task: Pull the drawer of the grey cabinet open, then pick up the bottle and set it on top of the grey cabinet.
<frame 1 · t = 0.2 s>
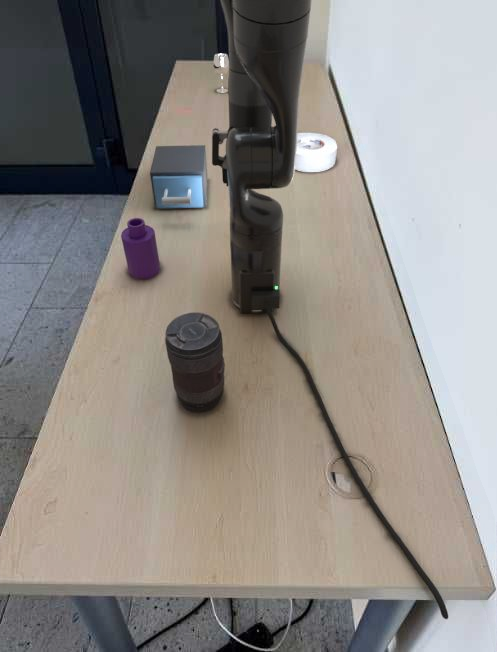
hand: (250, 184, 94), 17 cm above the table, tool pointing down, fingers open, 8 cm apart
wineglass: (222, 91, 181), on the table
grey cabinet: (182, 193, 126), on the table
drawer: (179, 185, 119), point 5 cm above the table, slide at 0.0 cm
bottle: (144, 269, 102), on the table
tape roll: (308, 160, 140), on the table
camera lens: (200, 396, 78), on the table
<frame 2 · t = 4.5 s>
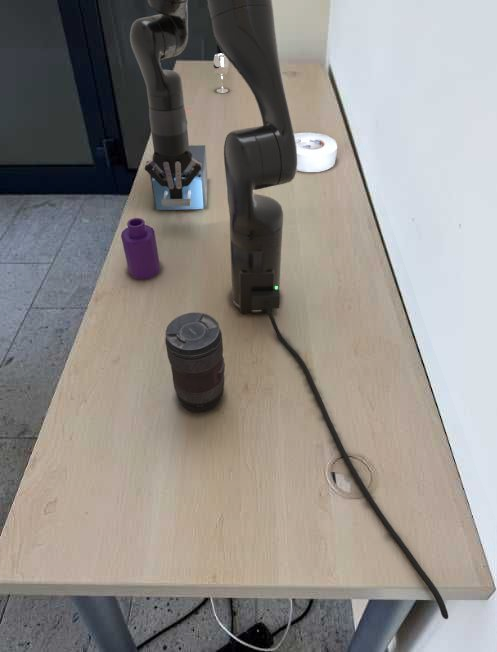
hand: (177, 201, 113), 5 cm above the table, tool pointing down, fingers closed
drawer: (179, 187, 118), point 5 cm above the table, slide at 0.9 cm
everything else where it was.
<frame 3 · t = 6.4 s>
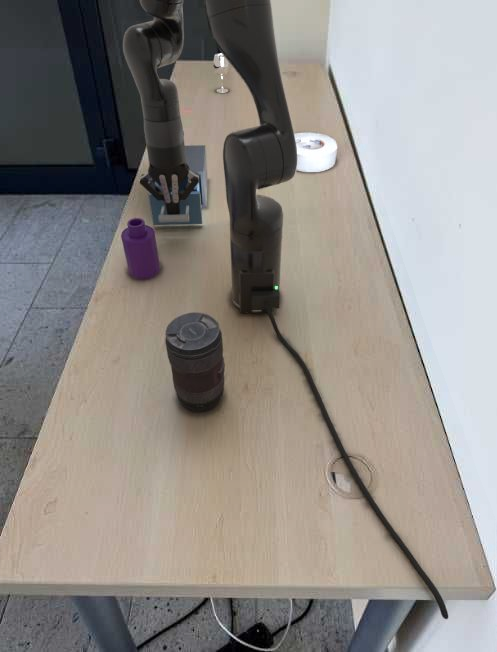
hand: (174, 215, 108), 5 cm above the table, tool pointing down, fingers closed
drawer: (177, 201, 113), point 5 cm above the table, slide at 7.6 cm
everything else where it was.
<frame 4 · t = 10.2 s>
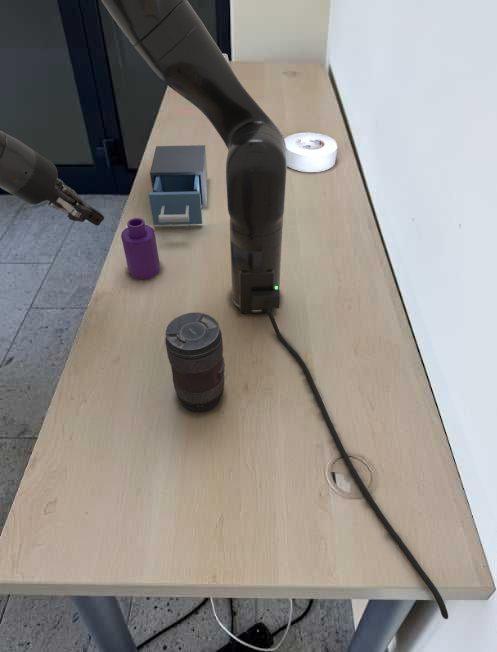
hand: (99, 219, 89), 15 cm above the table, tool tilted 40°, fingers closed
nothing on the table moved.
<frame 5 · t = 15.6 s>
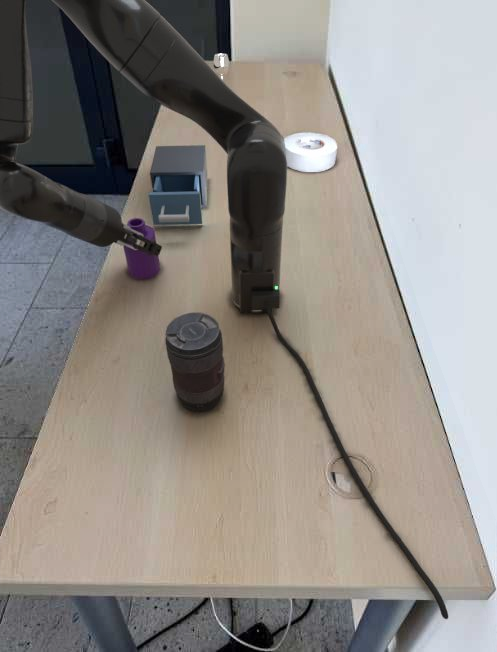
hand: (146, 244, 100), 5 cm above the table, tool tilted 45°, fingers closed on bottle, 6 cm apart
bottle: (144, 269, 102), on the table, touching gripper
everything else where it was.
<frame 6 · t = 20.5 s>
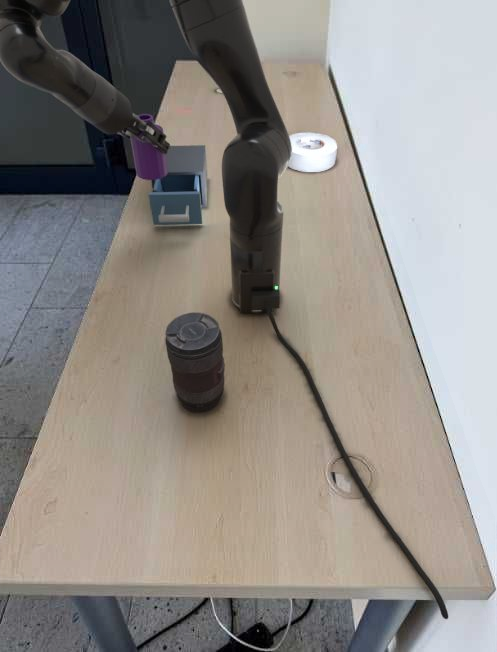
hand: (154, 145, 99), 20 cm above the table, tool tilted 45°, fingers closed on bottle, 6 cm apart
bottle: (152, 172, 102), point 15 cm above the table, touching gripper
everything else where it was.
when the fingers open (15 cm above the table, at t = 25.3 s): bottle stays where it is, resting on grey cabinet.
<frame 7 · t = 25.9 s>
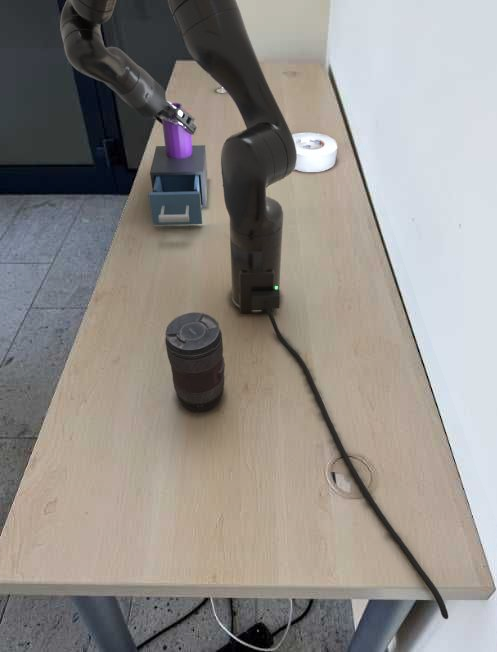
hand: (180, 126, 118), 16 cm above the table, tool tilted 45°, fingers open, 8 cm apart
bottle: (179, 153, 121), point 10 cm above the table, touching grey cabinet
everything else where it was.
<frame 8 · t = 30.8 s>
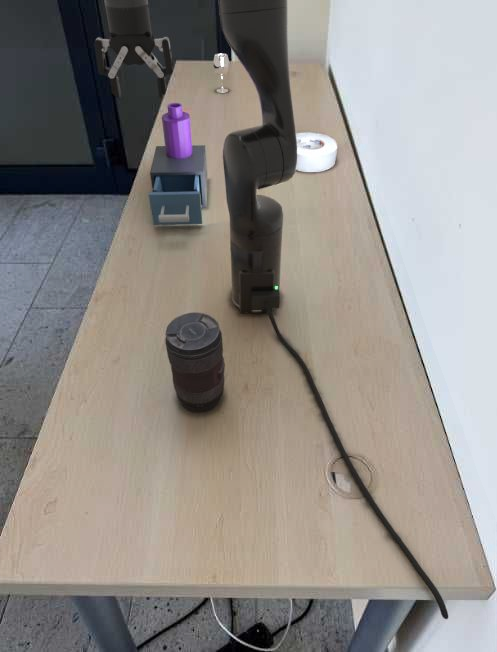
hand: (140, 96, 97), 28 cm above the table, tool pointing down, fingers open, 8 cm apart
nothing on the table moved.
at the end: drawer slide at 7.7 cm; bottle inside the target area on the grey cabinet (1.6 cm from its centre), point 9.6 cm above the grey cabinet's base; bottle tilted 0° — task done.
